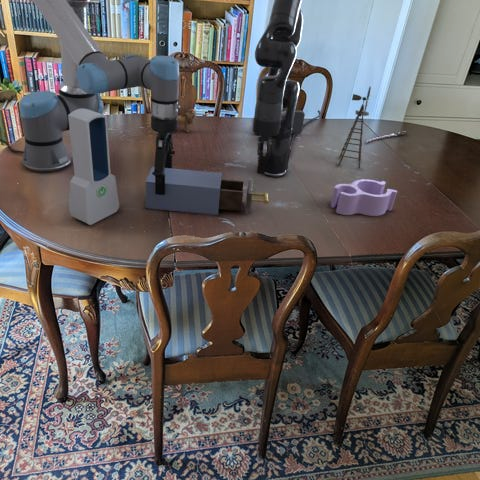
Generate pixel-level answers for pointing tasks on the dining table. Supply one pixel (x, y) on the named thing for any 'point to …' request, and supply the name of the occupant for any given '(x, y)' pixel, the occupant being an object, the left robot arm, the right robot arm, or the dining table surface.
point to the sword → (384, 137)
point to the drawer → (237, 195)
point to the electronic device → (91, 168)
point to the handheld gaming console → (297, 121)
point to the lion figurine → (187, 119)
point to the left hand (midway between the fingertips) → (163, 184)
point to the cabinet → (185, 191)
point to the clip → (363, 198)
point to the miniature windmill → (359, 113)
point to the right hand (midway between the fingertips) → (260, 173)
